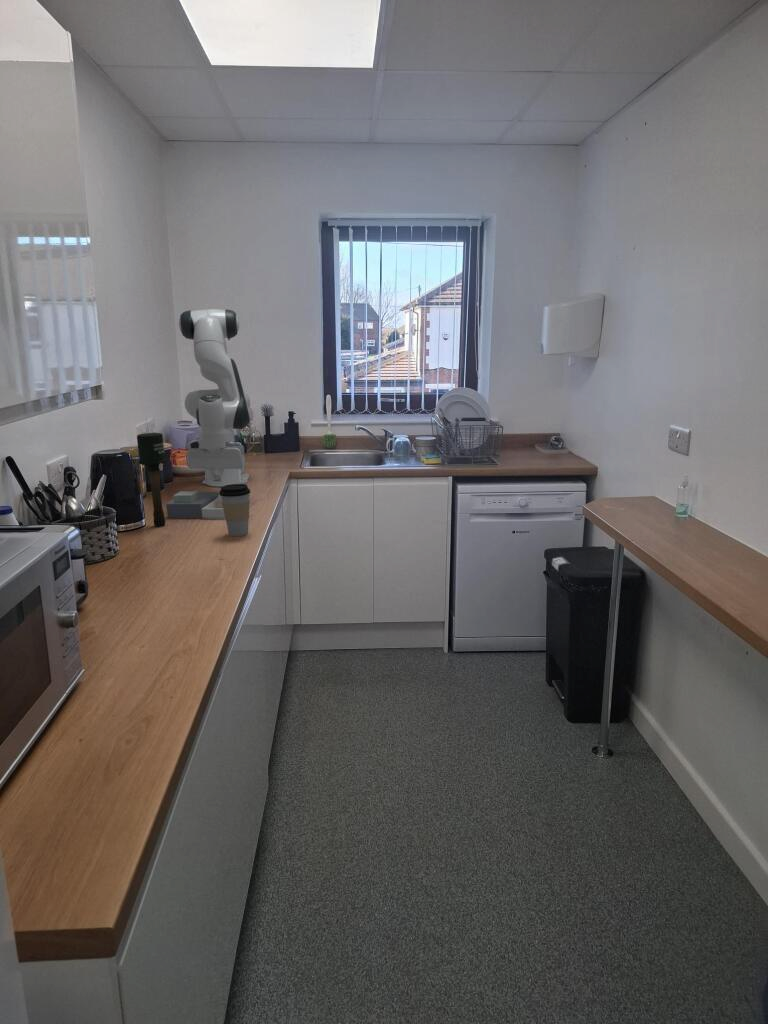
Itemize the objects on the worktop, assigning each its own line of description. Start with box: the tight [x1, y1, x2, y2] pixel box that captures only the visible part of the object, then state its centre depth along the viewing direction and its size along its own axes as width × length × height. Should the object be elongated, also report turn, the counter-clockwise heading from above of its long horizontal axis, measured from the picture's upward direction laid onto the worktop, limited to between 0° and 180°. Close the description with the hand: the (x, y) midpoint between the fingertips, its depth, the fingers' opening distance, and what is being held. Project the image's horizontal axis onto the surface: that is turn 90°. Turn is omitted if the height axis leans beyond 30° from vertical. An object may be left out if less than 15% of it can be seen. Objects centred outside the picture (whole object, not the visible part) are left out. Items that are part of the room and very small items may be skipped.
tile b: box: [173, 490, 198, 503], centre depth 230 cm, size 6×6×2 cm
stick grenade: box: [136, 432, 168, 528], centre depth 215 cm, size 8×9×30 cm
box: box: [201, 495, 225, 520], centre depth 234 cm, size 20×10×4 cm, turn 175°
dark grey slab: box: [165, 491, 220, 519], centre depth 235 cm, size 18×12×5 cm, turn 175°
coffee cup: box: [218, 483, 251, 537], centre depth 206 cm, size 9×9×15 cm
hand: (217, 480), depth 237 cm, fingers closed
